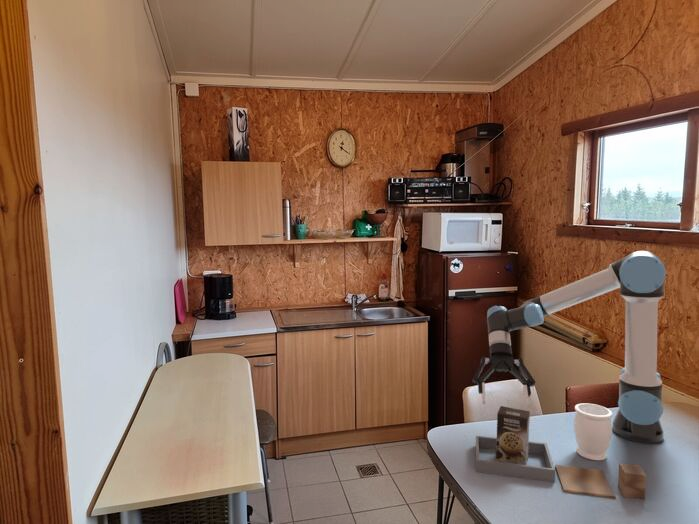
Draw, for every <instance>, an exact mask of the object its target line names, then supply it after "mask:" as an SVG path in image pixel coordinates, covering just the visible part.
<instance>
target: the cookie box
mask: <svg viewBox="0 0 699 524" xmlns="http://www.w3.org/2000/svg"><path fill="white" fill-rule="evenodd" d="M530 414H531V411H530V410H523V409H518V408H513V407H509V406H508V407H507V406H503V405H500V407H499V409H498V411H497V414H496V415H497V418H496V420H497V421H496V438H497V444H496V449H495V462H503V463H512V464H520V465H528V462H529V453H528V443H529V439H530V437H529V436H530V433H529V432H530V418H531V417H530V416H531V415H530Z"/></svg>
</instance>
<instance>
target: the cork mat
mask: <svg viewBox="0 0 699 524" xmlns="http://www.w3.org/2000/svg"><path fill="white" fill-rule="evenodd" d="M554 468H555V471H556V473H557V476H558V479H559V482H560V484H561V488H562V491H563V492H564V493H572V494H580V495H587V496H596V497H602V498H611V499H616V494H615V492H614V490H613V488H612V486H611V484H610V482H609V481H608V479H607V476H606V474H605V472H604V470H602V469H596V468H595V469H593V468H585V467H578V466H570V465H569V466H568V465H560V464H555V465H554Z"/></svg>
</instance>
